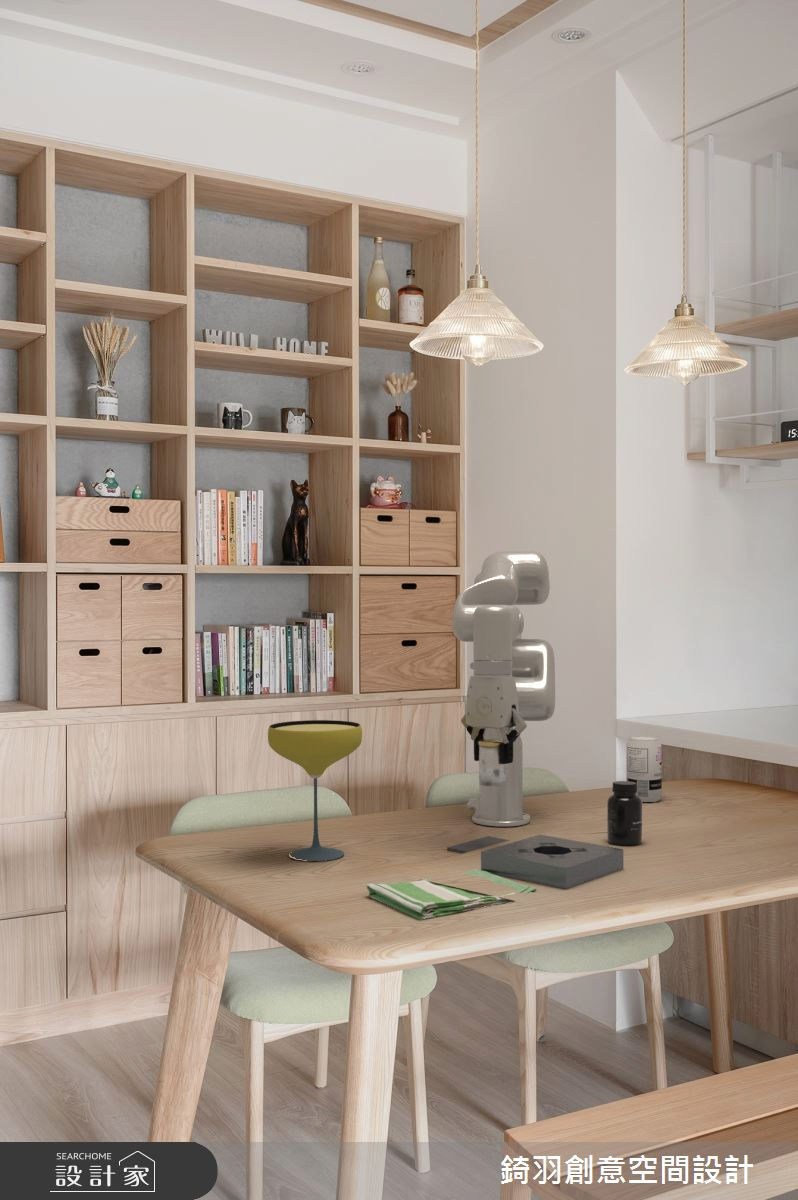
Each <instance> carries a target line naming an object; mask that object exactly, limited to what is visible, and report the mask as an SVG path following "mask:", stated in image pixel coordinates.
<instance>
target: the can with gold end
mask: <svg viewBox="0 0 798 1200" xmlns="http://www.w3.org/2000/svg"><path fill="white" fill-rule="evenodd" d="M501 743H503V740H502V739H483V740H479V741H478V745H479V761H478V785H479V784H480V785H483V786H505V785H508V764H501V763H500V744H501Z"/></svg>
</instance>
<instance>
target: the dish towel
mask: <svg viewBox="0 0 798 1200" xmlns="http://www.w3.org/2000/svg"><path fill="white" fill-rule="evenodd" d="M462 873H463V874H466V875H470V876H472V877H473V876H474V877H478V878H482V879H485V880H487V881H490V882H492V883H495V884H499V885H502V886H506V887H510V888H512V889H514V891H512V892H511V893H507V894H503V895H501V896H495V895H491V894H487V893H482V892H478V891H473V890H470V889H464V888H460V887H455V886H450V885H447V884H443V883H438V882H433V881H432V880H433V878H427V879H421V880H416V881H403V882H401V881H398V882H393V883H368V884H366V885H365V886H366V889H367V891H368V897H369V898H371V899H373V900H375V899H376V900H375V901H377V900H378V901H377V902H379V901H380V903H382V902H383V903H382V904H384V903H385V904H384V905H386V904H387V905H386V906H388V905H389V907H390V906H391V907H390V908H392V907H393V909H395V908H396V909H395V910H397V909H398V911H399V910H400V912H401V911H402V912H401V913H404V912H405V913H404V914H406V913H407V914H406V915H408V914H409V915H408V916H410V915H412V916H414V917H416V918H415V919H417V918H418V919H417V920H419V919H421V920H420V921H423V920H422V919H424V920H427V919H426V918H428V919H432V918H431V917H435V918H437V917H436V916H440V917H442V916H441V915H445V916H448V915H447V914H449V915H454V914H458V913H457V912H459V913H462V911H463V912H466V911H467V912H468V911H472V910H471V909H474V910H477V909H476V908H480V909H482V908H481V907H484V906H489V907H492V906H491V905H495V906H498V904H500V905H503V904H509V903H514V902H515V903H516V900H513V899H509V898H506V896H510V895H511V896H512V895H515V894H532V893H533V891H534V892H535V891H537V888H536V886H532V885H528V884H521V883H518V882H515V881H513V880H511V879H508V878H506V877H504V876H500V875H495V874H491V873H489V872H487V871H482V870H481V869H478V868H477V869H476V868H474V869H470V870H467V871H463V872H462ZM504 897H505V898H504ZM453 913H454V914H453ZM412 916H411V917H412ZM414 917H413V918H414Z"/></svg>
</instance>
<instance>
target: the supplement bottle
mask: <svg viewBox="0 0 798 1200" xmlns="http://www.w3.org/2000/svg"><path fill="white" fill-rule="evenodd" d="M611 791H612V793H613V794H612V795H610V796H609V797H608V799H607V808H606V809H607V817H606V818H607V824H606V825H607V829H606V830H607V832H606V833H607V836H606V837H607V841H608V843H610V844H612V845H615V846H626V847H627V846H630V847H631V846H637V845H640V844H641V843H642V841H643V803H642V800H641V799H640V798H639V797H638V796H637V795H636V793H637V783H635V782H630V781H627V780H620V781H619V780H618V781H617V780H616V781H613V782H612V789H611Z"/></svg>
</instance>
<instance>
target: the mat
mask: <svg viewBox="0 0 798 1200" xmlns="http://www.w3.org/2000/svg"><path fill="white" fill-rule="evenodd" d="M507 841H510V839H506V838H499V837H494V836H489V835H488V836H483V837H479V838H476V839H473V840H469V841H466V842H461V843H458V844H454V845H451V846H447V847H446V850H447V852H453V853H457V854H466V853H470V852H473V851H477V850H480V849H483V848H487V847H491V846H495V845H497V844H498V845H499V844H502V843H505V842H507Z"/></svg>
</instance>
